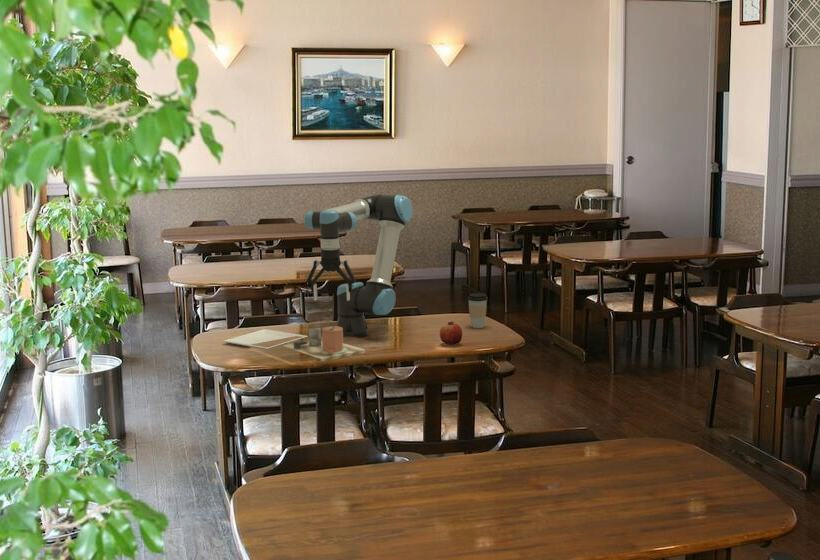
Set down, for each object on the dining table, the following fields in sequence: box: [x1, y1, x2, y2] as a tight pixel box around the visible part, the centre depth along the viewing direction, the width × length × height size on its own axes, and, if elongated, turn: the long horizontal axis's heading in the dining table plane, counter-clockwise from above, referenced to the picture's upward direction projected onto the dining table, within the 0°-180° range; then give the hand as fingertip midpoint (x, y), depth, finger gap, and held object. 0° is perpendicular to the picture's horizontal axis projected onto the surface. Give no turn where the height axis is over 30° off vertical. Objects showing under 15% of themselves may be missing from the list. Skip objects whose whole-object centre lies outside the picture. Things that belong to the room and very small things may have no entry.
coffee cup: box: [467, 292, 489, 329], centre depth 449 cm, size 9×9×15 cm
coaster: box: [321, 347, 347, 355], centre depth 405 cm, size 11×11×1 cm
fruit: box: [439, 321, 463, 346], centre depth 417 cm, size 11×10×10 cm
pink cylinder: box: [321, 325, 344, 354], centre depth 405 cm, size 14×8×9 cm, turn 174°
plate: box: [223, 328, 309, 350], centre depth 429 cm, size 26×26×2 cm
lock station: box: [282, 327, 367, 363], centre depth 411 cm, size 22×30×8 cm
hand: (332, 300), depth 402 cm, fingers open, 13 cm apart
